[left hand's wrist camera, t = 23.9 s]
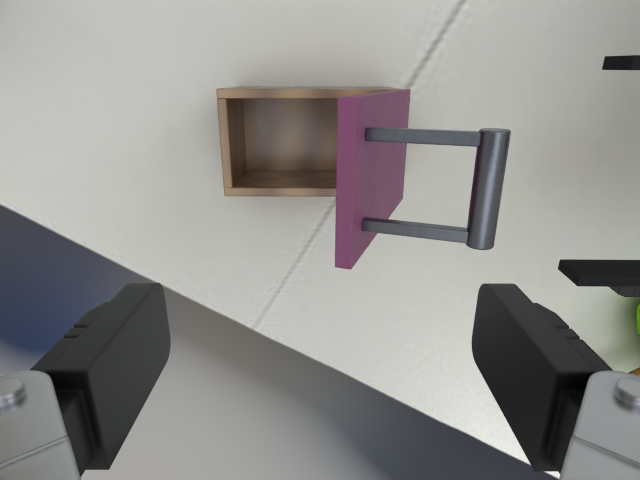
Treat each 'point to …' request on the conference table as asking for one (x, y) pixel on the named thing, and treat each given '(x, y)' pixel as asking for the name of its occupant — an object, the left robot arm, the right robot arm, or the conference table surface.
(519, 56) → the conference table surface
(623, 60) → the right robot arm
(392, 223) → the lid
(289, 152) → the chest
